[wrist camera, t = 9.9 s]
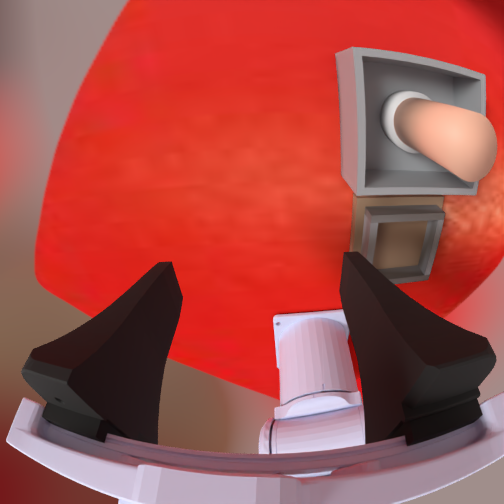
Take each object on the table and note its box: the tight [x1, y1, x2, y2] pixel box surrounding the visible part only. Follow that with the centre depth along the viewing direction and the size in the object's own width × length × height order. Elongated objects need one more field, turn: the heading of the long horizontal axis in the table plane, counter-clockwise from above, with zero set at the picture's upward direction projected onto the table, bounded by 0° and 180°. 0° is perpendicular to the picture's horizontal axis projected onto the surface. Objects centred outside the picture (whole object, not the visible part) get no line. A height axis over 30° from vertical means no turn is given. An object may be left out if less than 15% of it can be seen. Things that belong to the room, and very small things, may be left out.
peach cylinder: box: [380, 90, 497, 182], centre depth 13 cm, size 4×4×8 cm
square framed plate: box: [349, 193, 445, 284], centre depth 21 cm, size 8×8×2 cm
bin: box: [335, 47, 486, 196], centre depth 15 cm, size 9×10×4 cm
